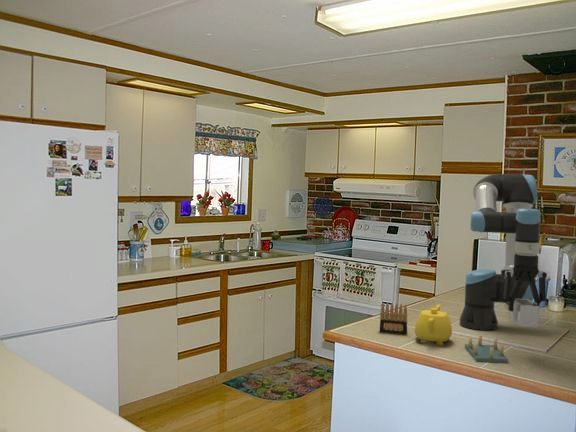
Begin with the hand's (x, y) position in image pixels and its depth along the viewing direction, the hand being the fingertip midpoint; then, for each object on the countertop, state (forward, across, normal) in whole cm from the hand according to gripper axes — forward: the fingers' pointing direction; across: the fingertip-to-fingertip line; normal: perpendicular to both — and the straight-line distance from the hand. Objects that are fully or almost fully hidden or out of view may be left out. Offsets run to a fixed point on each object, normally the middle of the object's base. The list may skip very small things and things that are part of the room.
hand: (523, 320), depth 185 cm
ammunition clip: (+13, -40, +25) cm, 49 cm away
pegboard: (+13, -12, +1) cm, 18 cm away
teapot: (+13, -27, +16) cm, 34 cm away
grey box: (+1, 0, 0) cm, 1 cm away
